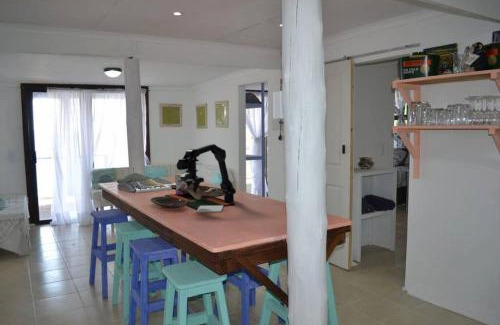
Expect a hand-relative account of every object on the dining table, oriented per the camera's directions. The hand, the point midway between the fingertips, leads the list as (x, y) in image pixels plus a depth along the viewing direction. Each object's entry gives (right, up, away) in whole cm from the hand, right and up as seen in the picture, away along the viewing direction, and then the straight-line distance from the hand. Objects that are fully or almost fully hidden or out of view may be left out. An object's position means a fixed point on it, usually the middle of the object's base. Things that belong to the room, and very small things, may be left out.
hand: (192, 191), depth 259 cm
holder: (-42, -5, +88) cm, 97 cm away
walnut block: (+4, -3, +4) cm, 7 cm away
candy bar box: (-16, -7, +58) cm, 61 cm away
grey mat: (+12, -12, +1) cm, 17 cm away
